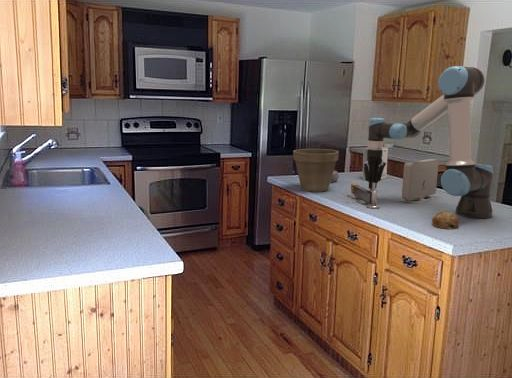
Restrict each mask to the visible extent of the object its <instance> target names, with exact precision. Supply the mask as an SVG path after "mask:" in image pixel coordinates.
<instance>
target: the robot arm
mask: <svg viewBox="0 0 512 378" xmlns="http://www.w3.org/2000/svg"><path fill="white" fill-rule="evenodd" d="M485 80H486V79H485V76H484V73H483V71H481V70H480V69H479V68H476V67H474V66H461V65H453V66H450V67H448V68H446V69H444V70H443V72H442V73H441V74H440V75H439V78H438V83H437V85H438V89H439V92H440V91H441V93H442V95H441V96H439V97H438V98H437V99H435V101H433V102H431V103H430V104H429V105H428V106H426V107H425V108H424V109H423V110H421V111H420V112H418V113H417V114H416V115H414V116H413V117H412V118H411V119H410V120H408V121H407V122H394V123H393V122H386V120H385V118H383V117H371V118H369V121H368V136H367V137H368V138H367V139H368V140H367V148H369V149H368V150H367V160H366V162H365V163H363V162H362V163H361V165H362V168H363V167H364V173H365V181H366V182H368V190H369V191H371V192H372V190H376V189H377V185H378V183H379V182H381V180H382V179H381V177H382V173H383V169H384V167H385V165H386V163H385V162H383V161H382V154H383V150H382V149H383V147H384V140H385V139H389V140H390V139H391V140H395V141H398V140H401V141H402V140H403V139H415V138H417V137H418V136H420V135H421V133H422V131H423V130H424V129H425V128H427V127H428V126H430V125H432V124H433V123H434V122H435V121H437V120H438V119H440V118H441V117H443V116H445V115H446V114H447V115H448V117H447V119H448V120H447V121H448V124H447V125H448V156H449V157H448V161H447V162H446V164H445V171H444V172H443V174H442V175H441V177H440V183H441V187H442V189H443V190H444V191H445V193H447V194H449V195H451V196H452V197H460V198H459V201H458V203H457V204H456V206H455V214H457V215H459V216H461V217H467V218H470V219H471V218H474V219H490V218H492V217H493V208H492V203H491V193H492V192H491V191H492V183H493V175H494V168H493V166H492V165H490V164H482V163H481V164H480V163H476V162H475V161H474V160H472V141H471V140H472V137H471V136H472V135H471V134H472V133H471V132H472V130H471V124H472V123H471V102H472V101H473V100H474V99H475V96H476V95H477V94H478V93H480V92H481V91H482V90H483V87H484V85H485ZM368 165H369V169H368ZM379 165H380V166H379ZM378 169H379V170H378Z"/></svg>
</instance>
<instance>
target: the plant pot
mask: <svg viewBox="0 0 512 378" xmlns="http://www.w3.org/2000/svg"><path fill="white" fill-rule="evenodd" d="M292 155H293V156H292V157H293V160H294V161H295V167H296V171H297V174H298V175H297V176H298V179H299V183H300V188H301V189H302V190H303V191H305V192H313V193H316V192H317V193H319V192H322V193H323V192H326V191H328V190H329V187H330V184H331V183H330V181H331V178H332V175H333V171H335V167H336V165H337V161H338V160H339V150H335V149H327V148H326V149H325V148H324V149H323V148H301V149H294V150H292Z"/></svg>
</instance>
